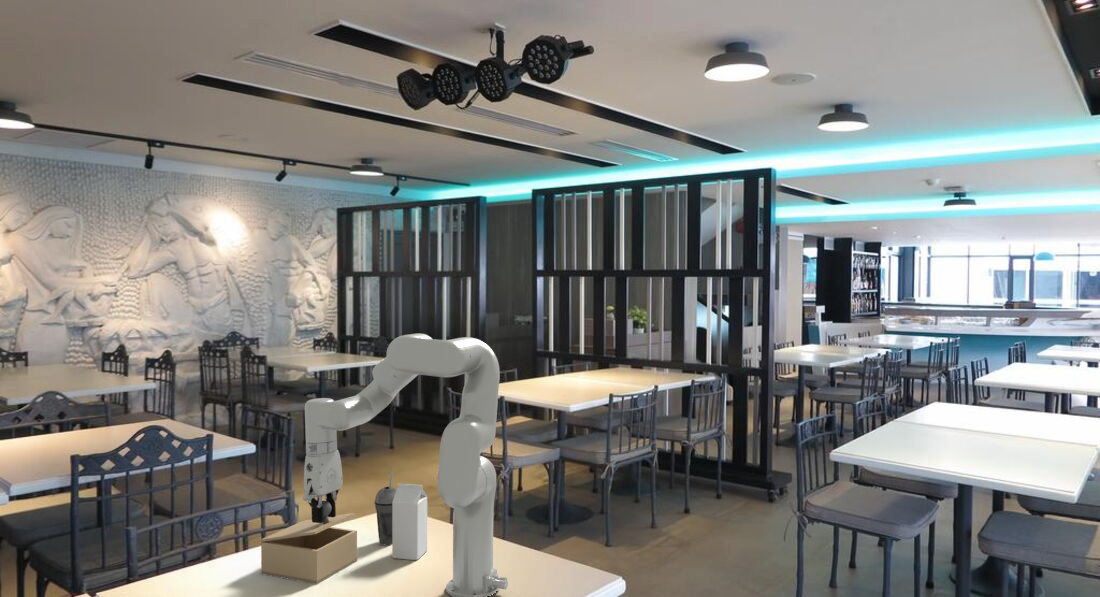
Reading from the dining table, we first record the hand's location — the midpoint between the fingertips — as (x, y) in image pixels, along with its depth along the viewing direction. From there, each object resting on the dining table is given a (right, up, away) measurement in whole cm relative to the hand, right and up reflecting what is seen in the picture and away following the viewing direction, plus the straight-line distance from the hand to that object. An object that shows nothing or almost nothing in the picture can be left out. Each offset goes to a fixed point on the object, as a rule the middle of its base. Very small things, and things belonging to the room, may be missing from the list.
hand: (323, 518), depth 186 cm
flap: (-4, -3, +2) cm, 5 cm away
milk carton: (+20, -13, +11) cm, 26 cm away
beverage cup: (+12, -13, +20) cm, 27 cm away
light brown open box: (-4, -13, +2) cm, 14 cm away
